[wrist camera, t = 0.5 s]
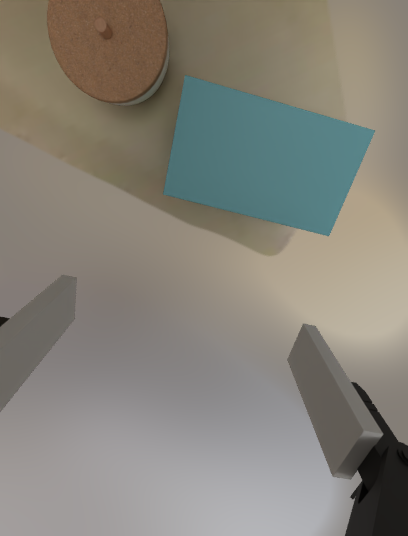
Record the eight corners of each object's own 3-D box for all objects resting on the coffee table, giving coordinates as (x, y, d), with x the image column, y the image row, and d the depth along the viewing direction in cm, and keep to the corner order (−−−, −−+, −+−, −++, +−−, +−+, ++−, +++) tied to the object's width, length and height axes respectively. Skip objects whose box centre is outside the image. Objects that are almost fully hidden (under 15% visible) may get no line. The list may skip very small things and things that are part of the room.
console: (193, 106, 33) (185, 74, 20) (312, 140, 34) (375, 130, 22) (178, 181, 36) (163, 194, 24) (287, 209, 38) (328, 236, 25)
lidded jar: (163, -11, 29) (144, -82, 20) (184, 103, 33) (177, 84, 24) (68, 14, 30) (12, -44, 21) (101, 122, 34) (64, 110, 25)
